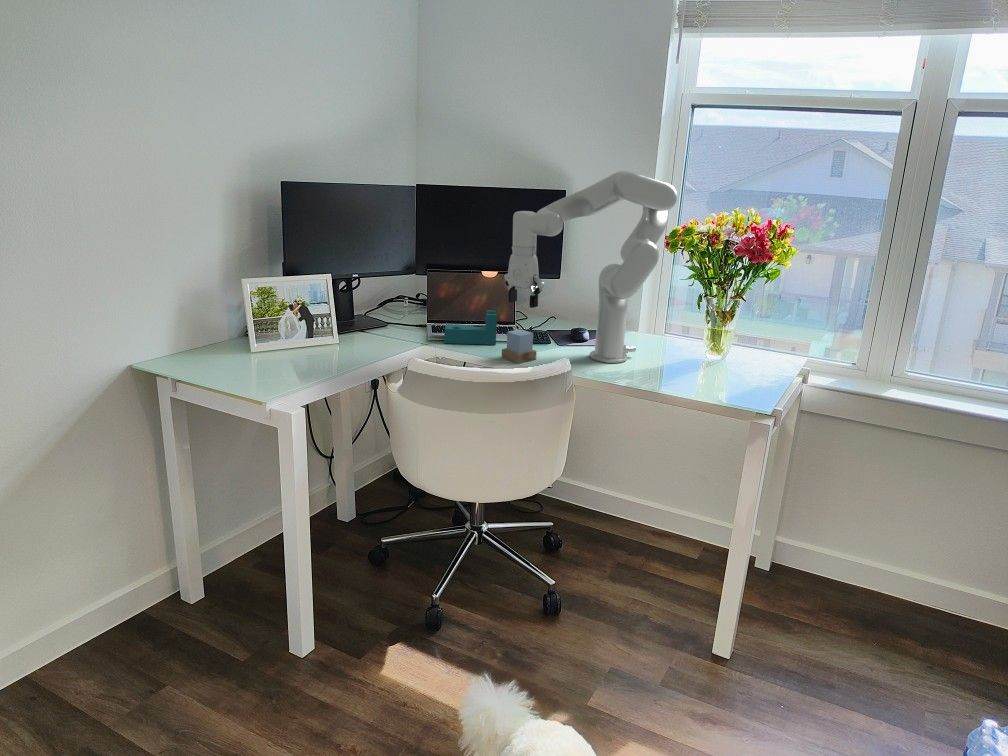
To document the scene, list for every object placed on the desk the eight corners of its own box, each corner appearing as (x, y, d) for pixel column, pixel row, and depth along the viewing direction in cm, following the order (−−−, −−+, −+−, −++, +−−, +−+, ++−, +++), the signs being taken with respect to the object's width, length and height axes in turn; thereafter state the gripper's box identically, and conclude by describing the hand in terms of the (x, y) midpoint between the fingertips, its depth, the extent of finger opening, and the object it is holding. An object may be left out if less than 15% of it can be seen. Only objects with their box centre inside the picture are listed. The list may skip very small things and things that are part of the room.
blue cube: (519, 346, 245) (520, 329, 243) (532, 350, 241) (533, 333, 239) (506, 349, 241) (507, 331, 239) (519, 353, 237) (520, 335, 235)
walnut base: (519, 353, 247) (519, 345, 246) (535, 359, 242) (536, 350, 241) (501, 357, 242) (502, 349, 241) (518, 363, 236) (518, 354, 236)
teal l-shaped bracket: (495, 339, 266) (496, 310, 264) (495, 344, 256) (496, 315, 253) (445, 337, 265) (446, 309, 263) (444, 343, 255) (444, 313, 253)
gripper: (497, 249, 234) (496, 301, 240) (535, 256, 222) (533, 311, 228) (514, 247, 239) (513, 298, 245) (552, 253, 227) (550, 307, 233)
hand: (523, 304), depth 236 cm, fingers open, 9 cm apart
